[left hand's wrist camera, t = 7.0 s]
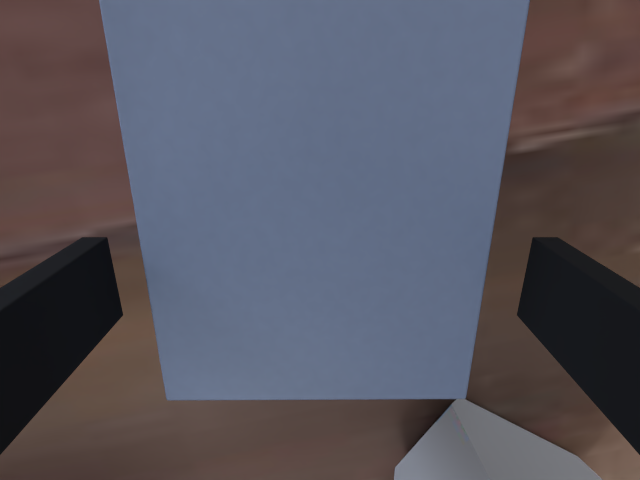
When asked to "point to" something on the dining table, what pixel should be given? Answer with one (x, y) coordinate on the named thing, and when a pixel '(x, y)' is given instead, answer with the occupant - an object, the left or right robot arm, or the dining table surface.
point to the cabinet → (315, 187)
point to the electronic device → (486, 451)
